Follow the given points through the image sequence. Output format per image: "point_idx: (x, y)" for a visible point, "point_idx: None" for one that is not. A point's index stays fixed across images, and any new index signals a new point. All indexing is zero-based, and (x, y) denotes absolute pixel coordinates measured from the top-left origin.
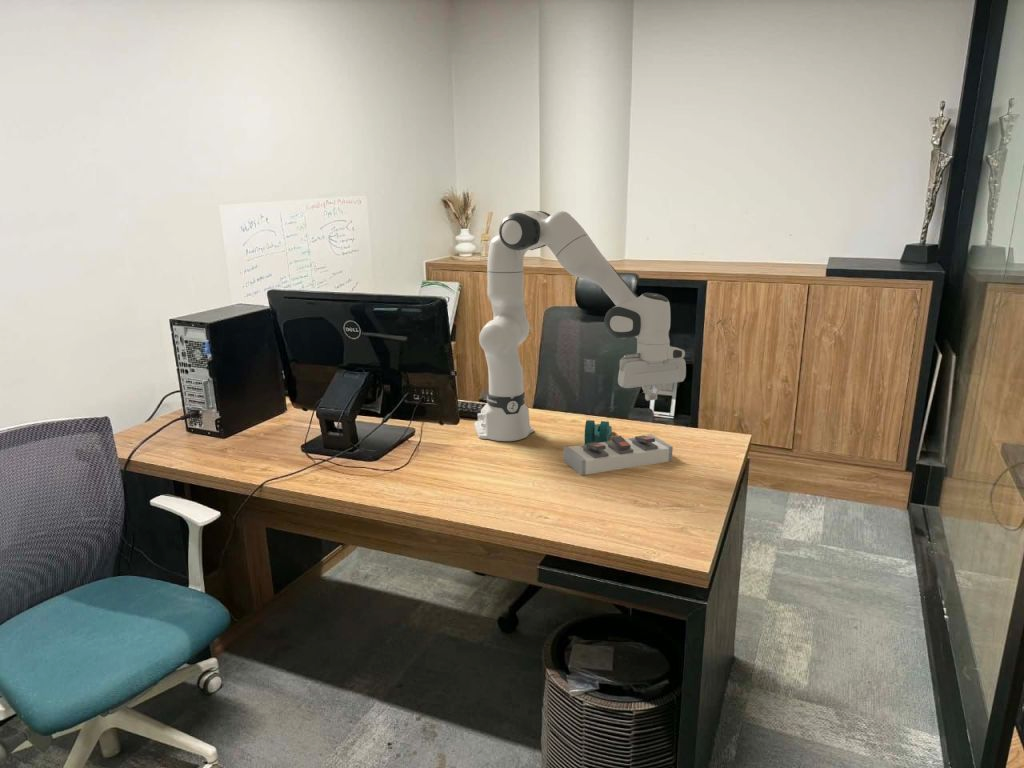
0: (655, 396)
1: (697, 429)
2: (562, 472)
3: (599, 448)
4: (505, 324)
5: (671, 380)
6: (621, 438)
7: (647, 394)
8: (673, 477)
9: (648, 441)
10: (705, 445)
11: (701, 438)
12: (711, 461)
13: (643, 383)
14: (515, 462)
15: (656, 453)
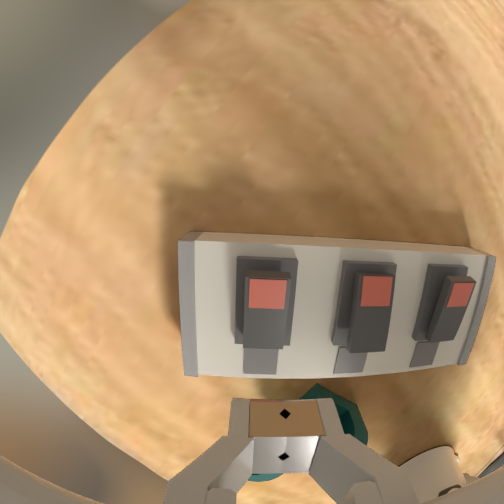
0: (252, 417)
1: (39, 378)
2: None
3: (464, 278)
4: None
5: (4, 487)
6: (359, 333)
7: (346, 442)
8: (270, 111)
9: (277, 274)
10: (51, 293)
11: (44, 334)
12: (89, 181)
13: (502, 497)
14: (501, 358)
15: (251, 240)
